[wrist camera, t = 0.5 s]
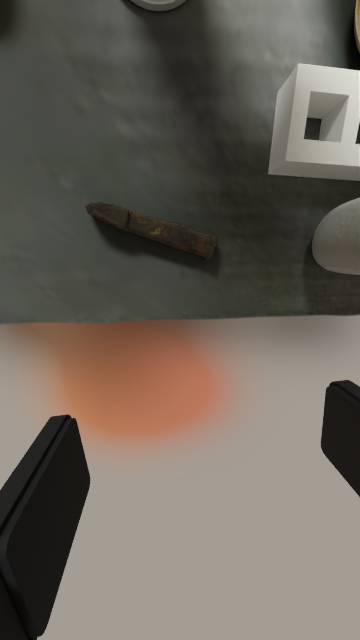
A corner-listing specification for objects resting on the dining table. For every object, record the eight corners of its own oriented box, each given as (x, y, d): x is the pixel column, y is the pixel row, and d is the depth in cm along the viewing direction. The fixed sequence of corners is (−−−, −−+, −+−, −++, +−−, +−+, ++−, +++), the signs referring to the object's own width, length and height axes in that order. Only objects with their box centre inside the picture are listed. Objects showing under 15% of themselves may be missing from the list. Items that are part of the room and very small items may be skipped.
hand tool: (215, 236, 36) (223, 233, 32) (206, 261, 37) (213, 261, 33) (95, 191, 34) (85, 180, 29) (88, 219, 34) (77, 213, 30)
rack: (277, 92, 32) (298, 63, 27) (384, 104, 33) (421, 77, 29) (267, 174, 35) (285, 160, 30) (367, 181, 36) (399, 169, 31)
